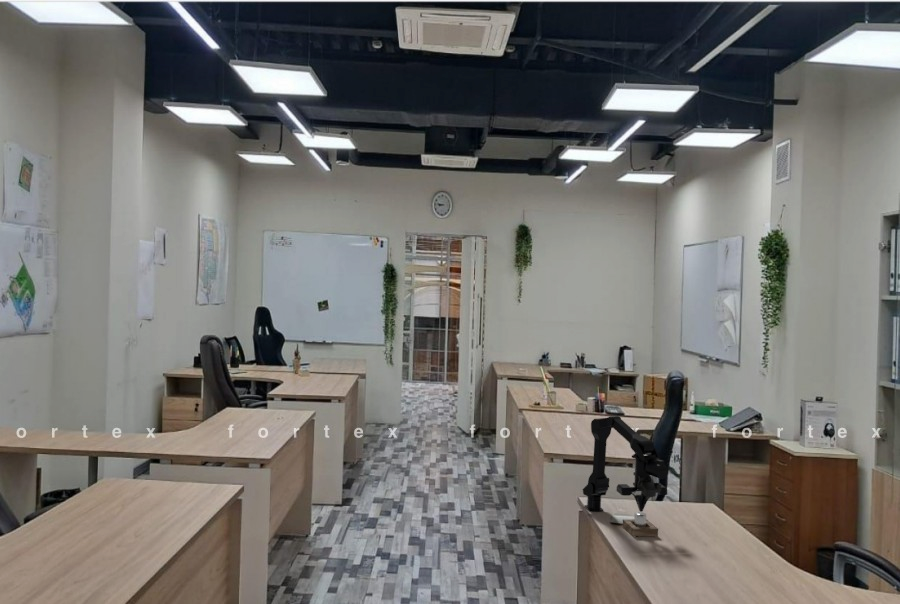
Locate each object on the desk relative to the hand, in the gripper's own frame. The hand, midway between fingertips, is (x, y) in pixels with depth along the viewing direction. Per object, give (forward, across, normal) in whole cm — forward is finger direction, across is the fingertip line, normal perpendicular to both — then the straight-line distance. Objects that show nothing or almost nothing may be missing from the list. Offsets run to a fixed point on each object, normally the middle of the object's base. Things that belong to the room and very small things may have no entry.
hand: (640, 511), depth 247 cm
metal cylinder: (+8, 0, 0) cm, 8 cm away
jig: (+8, 0, 0) cm, 8 cm away
